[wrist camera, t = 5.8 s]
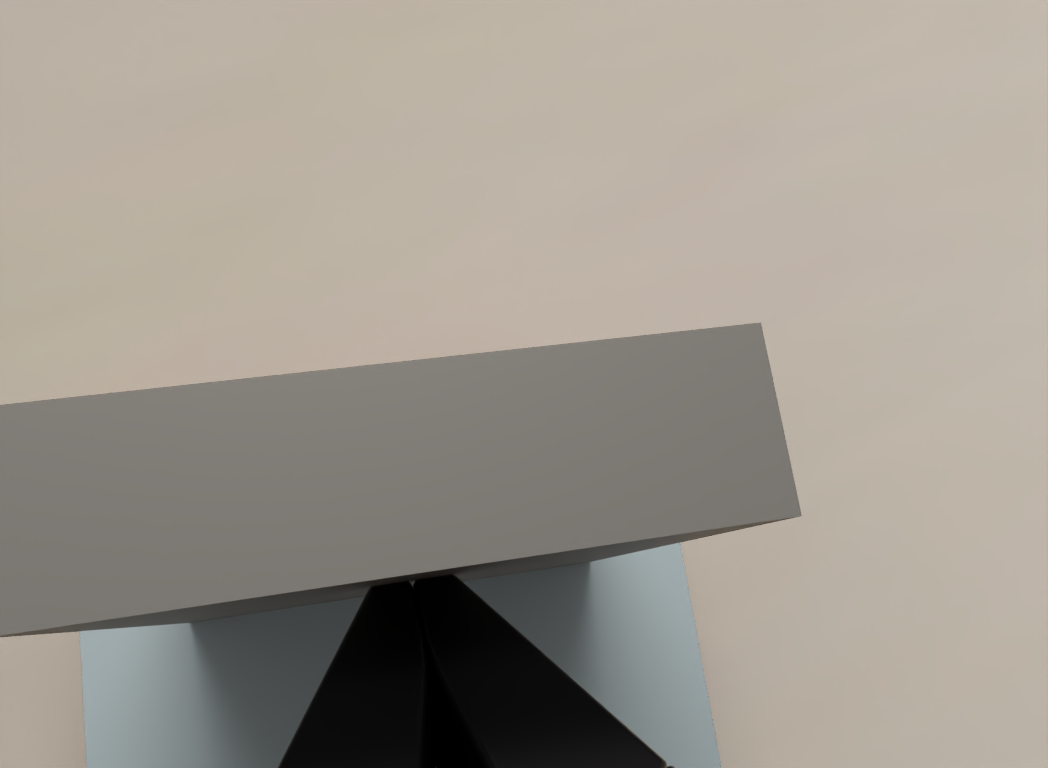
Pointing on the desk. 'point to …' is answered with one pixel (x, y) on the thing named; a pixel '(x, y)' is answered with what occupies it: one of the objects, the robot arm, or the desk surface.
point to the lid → (384, 528)
